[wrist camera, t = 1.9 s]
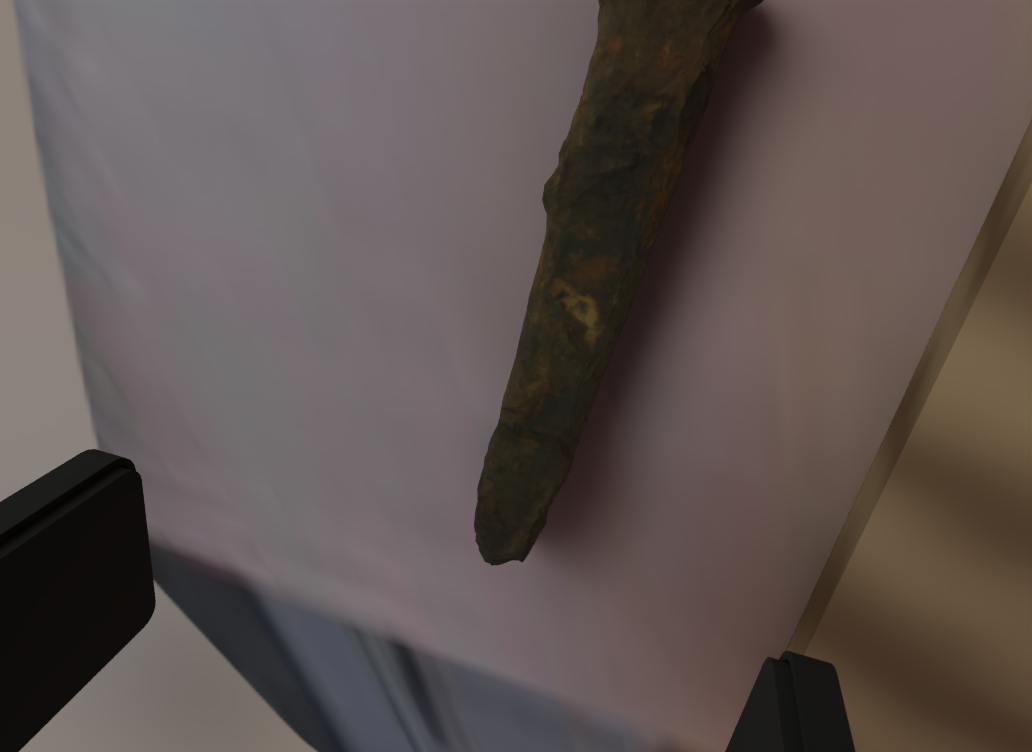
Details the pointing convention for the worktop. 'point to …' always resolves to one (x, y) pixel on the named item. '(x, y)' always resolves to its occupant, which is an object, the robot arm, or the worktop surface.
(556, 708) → the worktop surface
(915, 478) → the board
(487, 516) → the hand tool
